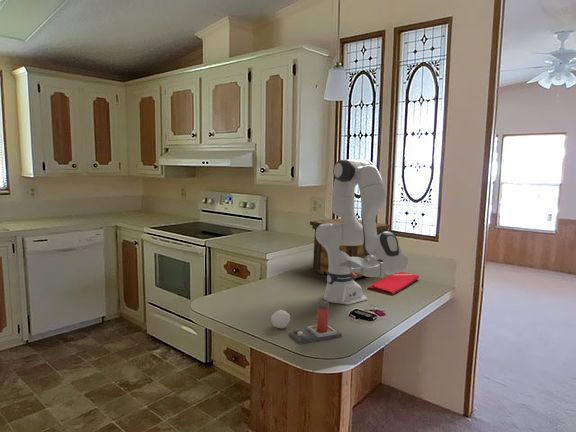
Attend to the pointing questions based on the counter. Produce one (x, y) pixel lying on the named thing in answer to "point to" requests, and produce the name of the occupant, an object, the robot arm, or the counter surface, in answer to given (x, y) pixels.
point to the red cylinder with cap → (322, 316)
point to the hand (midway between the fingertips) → (344, 267)
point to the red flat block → (393, 283)
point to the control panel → (313, 334)
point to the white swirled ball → (280, 319)
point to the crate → (353, 251)
